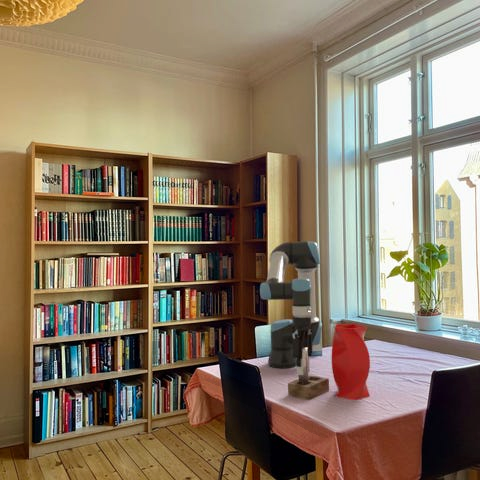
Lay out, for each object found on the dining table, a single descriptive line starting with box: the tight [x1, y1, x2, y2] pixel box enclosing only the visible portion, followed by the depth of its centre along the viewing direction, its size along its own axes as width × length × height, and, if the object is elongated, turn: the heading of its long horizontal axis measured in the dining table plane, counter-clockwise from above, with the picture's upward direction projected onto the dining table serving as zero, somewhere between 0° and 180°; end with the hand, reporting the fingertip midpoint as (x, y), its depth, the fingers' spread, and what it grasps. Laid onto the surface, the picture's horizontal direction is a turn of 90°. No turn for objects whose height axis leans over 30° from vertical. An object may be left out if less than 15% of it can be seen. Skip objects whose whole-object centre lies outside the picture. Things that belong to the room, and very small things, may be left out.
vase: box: [331, 323, 371, 401], centre depth 190 cm, size 15×14×28 cm
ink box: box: [312, 334, 323, 356], centre depth 267 cm, size 9×8×13 cm
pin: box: [297, 347, 309, 383], centre depth 190 cm, size 4×4×14 cm
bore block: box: [287, 374, 330, 401], centre depth 193 cm, size 10×16×5 cm, turn 140°
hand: (303, 373), depth 190 cm, fingers closed on pin, 4 cm apart
